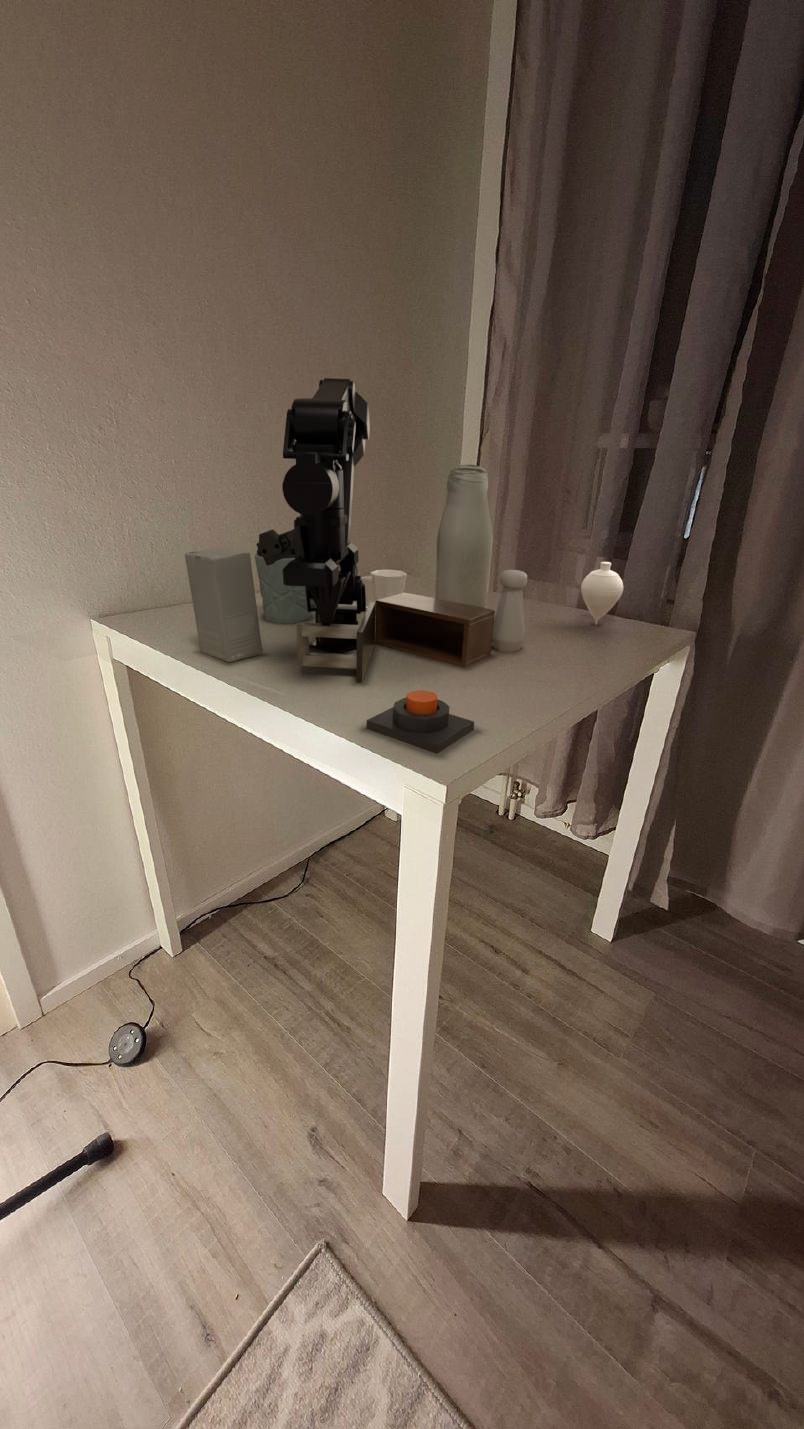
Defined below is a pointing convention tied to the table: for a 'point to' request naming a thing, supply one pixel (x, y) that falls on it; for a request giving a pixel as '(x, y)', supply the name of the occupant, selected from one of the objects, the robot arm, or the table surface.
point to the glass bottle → (465, 539)
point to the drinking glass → (280, 593)
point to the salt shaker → (510, 613)
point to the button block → (421, 726)
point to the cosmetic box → (224, 603)
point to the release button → (421, 702)
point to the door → (361, 633)
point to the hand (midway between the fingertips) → (326, 625)
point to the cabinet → (434, 628)
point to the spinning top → (601, 590)
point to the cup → (387, 583)
